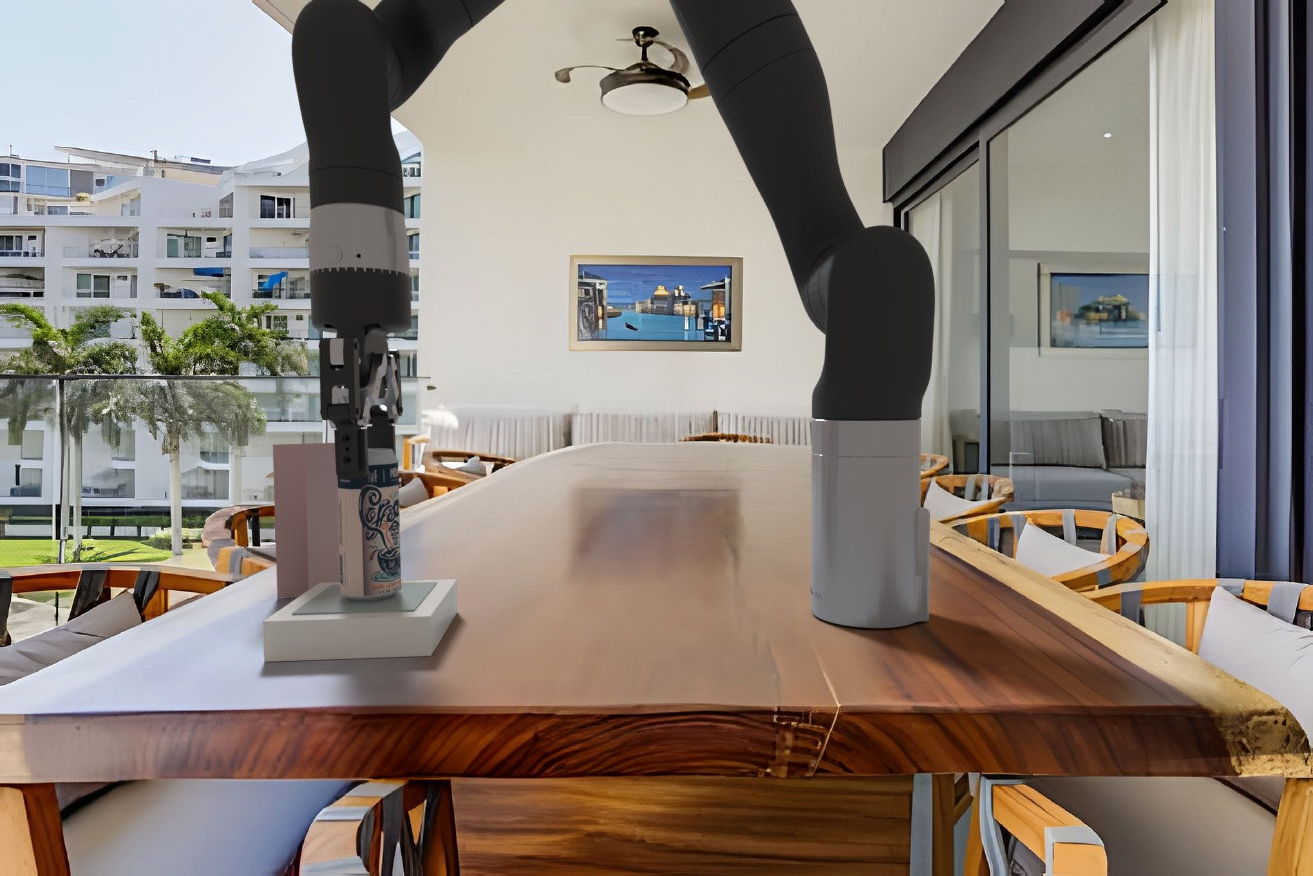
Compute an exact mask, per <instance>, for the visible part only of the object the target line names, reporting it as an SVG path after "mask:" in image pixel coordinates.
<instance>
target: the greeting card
mask: <svg viewBox="0 0 1313 876" xmlns="http://www.w3.org/2000/svg"><path fill="white" fill-rule="evenodd" d="M272 460H273V461H272V464H273V466H272V467H273V494H274V495H273V498H274V500H273V501H274V502H273V503H274V528H275V530H274V531H275V561H276V563H275V565H276V591H277V592H276V594H277V597H276V598H277V599H285V598H292V597H299V596H301V595H302V594H304V593H305V592H307V591H308V590H310V589H311V588H313V587H314V586H316V585H317V584H319V583H333V582H340V554H339V518H338V483H337V475H336V460H335V442H321V443H320V442H317V443H315V442H314V443H281V444H278V443H277V444H272Z"/></svg>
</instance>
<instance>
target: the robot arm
mask: <svg viewBox="0 0 1313 876" xmlns="http://www.w3.org/2000/svg"><path fill="white" fill-rule="evenodd" d="M505 1H506V0H380V1H379V2H378V3H377V4H376V6H375V7H374V8H373V9H372V8H370V7H369V5H367V4H366V3H364V2H363V1H362V0H309V1H308V2H307V3H306V4H305V5H304V7H303V8H301V11H300V12H299V13H298V15H297V18H296V20H295V23H294V26H293V31H292V37H291V61H292V71H293V77H294V78H293V79H294V84H295V90H296V94H297V95H296V96H297V99H298V106H299V109H300V116H301V119H302V124H303V129H304V132H305V137H306V141H307V143H306V144H307V147H308V155H309V156H308V157H309V158H308V184H309V204H310V205H309V208H310V214H309V217H310V219H309V229H308V238H307V239H308V241H307V242H308V243H307V245H308V266H309V267H308V269H309V288H310V289H309V291H310V292H309V293H310V295H309V296H310V313H311V314H310V315H311V317H310V319H311V324H312V327H313V328H314V329H316V330H317V331H320V332H325V333H332V334H336V337H320V338H319V342H318V351H319V352H318V354H319V356H318V358H319V395H320V400H319V401H320V403H319V404H320V405H319V406H320V408H319V409H320V410H319V415H320V417H321V419H322V420H323V421H328V423H329V426H330V428H331V429H333V434H334V443H335V460H336V475H337V476H338V477H339V478H341V479H352V478H363V477H365V476H367V475H368V473H369V464H368V448H389V449H393V452H394V454H395V456H396V457H397V449H396V425H397V424H398V422H399V421H398V420H399V419H400V418H399V417H402V416H403V412H404V407H403V396H402V379H401V376H402V375H401V353H400V351H399V349H393V348H392V349H391V348H389V343H388V342H389V341H388V340H387V339H388V335H389V334H400V333H404V332H407V331H409V330H410V329H411V328H412V324H413V323H412V322H413V321H412V300H411V299H412V297H411V294H412V293H411V292H412V291H411V270H410V267H411V266H410V248H409V247H410V246H409V240H408V239H409V238H408V234H407V227H406V219H405V195H404V175H403V174H404V173H403V166H402V160H401V156H400V155H401V154H400V153H399V150H398V148H397V147H398V146H397V144H396V142H395V139H394V136H393V130H392V116H391V115H392V114H391V113H392V112H394V111H396V110H397V109H399V108H400V107H401V106H403V104H405V103H406V102H407V101H408V100H409V99H410V98H412V96H413V95H414V94H415V93H416V92H417V91H418V90H419V88H420V87H421V86H422V85H423V84H424V82H426V79H428V77H429V76H430V75H431V74H432V72H433V71H434V70H435V68H436V67H437V66H438V65H439V64H440V62H441V61H442V60H443V58H444V57H445V56H446V53H447V52H448V51H449V49H451V47H452V46H453V45H454V43H455V42H456V41H457V40H459V38H461V37H463V36H464V35H465V34H467V33H468V32H469V31H470V30H472V29H473V28H474V27H475V26H476V25H477V24H479V23H480V22H481V21H483V20H484V19H485V18H486V17H488V15H490V14H491V13H492V12H494V11H495V10H496V9H497V8H499V7H500V6H501V5H502V4H503V3H505ZM668 1H669V4H670V6H671V9H672V11H673V13H674V15H675V18H676V20H677V22H678V25H679V27H680V29H681V31H682V34H683V36H684V38H685V40H686V42H687V43H688V47H689V49H690V50H691V53H692V56H693V58H694V60H695V63H696V65H697V67H698V69H699V72H700V75H701V77H702V79H703V82H704V84H705V86H706V87H707V90H708V92H709V94H710V97H711V98H712V101H713V103H714V105H715V107H716V109H717V111H718V113H719V115H720V116H721V117H720V118H721V119H722V121H723V122H724V125H725V126H726V128H727V130H728V132H729V134H730V136H731V138H732V140H733V142H734V144H735V147H736V148H737V151H738V152H739V155H740V157H741V159H742V162H743V163H744V166H745V168H746V169H747V171H748V174H749V176H750V177H751V180H752V181H753V183H754V185H755V187H756V188H757V191H758V193H759V194H760V196H761V198H762V201H763V202H764V205H765V207H766V209H767V210H768V212H769V214H770V217H771V219H772V221H773V224H774V228H776V233H777V234H778V237H779V239H780V242H781V245H782V248H783V251H784V255H785V256H786V259H787V262H788V265H789V269H790V271H791V273H792V277H793V280H794V283H795V287H796V289H797V292H798V294H799V298H800V301H801V304H802V305H803V308H804V311H805V313H806V315H807V317H808V318H809V320H810V321H811V322H812V323H813V325H814V326H815V328H816V329H818V330H819V331H820V332H821V333H822V334H824V335H825V339H824V341H825V343H824V344H825V345H824V360H823V365H822V370H821V373H820V376H819V379H818V380H817V382H816V384H815V387H814V388H813V390H812V395H811V418H812V419H811V491H810V492H811V494H810V495H811V496H810V497H811V504H810V505H811V509H810V511H811V516H810V517H811V522H810V524H811V526H810V527H811V528H810V531H811V532H810V534H811V542H810V550H811V551H810V552H811V553H810V556H811V557H810V567H811V568H810V569H811V571H810V572H811V574H810V577H811V578H810V596H811V597H810V607H811V608H810V612H811V613H812V615H814V616H815V617H817V618H819V619H821V620H823V621H826V622H829V623H832V624H837V625H842V626H848V627H853V628H854V627H856V628H867V629H869V628H870V629H887V628H888V629H889V628H890V629H891V628H899V627H904V626H908V625H911V624H914V623H918V622H928V621H930V559H931V558H930V555H931V553H930V552H931V549H930V548H931V547H930V545H931V513H930V511H929V509H928V508H926V507H924V506H923V507H922V506H921V490H922V489H921V487H922V485H921V482H922V481H921V480H922V479H921V478H922V475H921V467H922V466H921V465H922V457H921V456H922V453H921V452H922V419H921V418H922V415H923V414H922V412H923V411H922V408H923V400H924V397H925V395H926V392H927V389H928V387H929V384H930V382H931V375H932V369H933V368H932V367H933V366H932V365H933V352H934V333H935V318H936V317H935V316H936V315H935V312H936V310H935V309H936V286H935V274H934V270H933V266H932V262H931V260H930V257H929V255H928V253H927V251H926V249H925V247H924V246H923V244H922V243H921V242H920V241H919V240H918V239H917V238H916V237H915V236H914V235H913V234H912V233H910V232H908V231H906V230H904V229H902V228H901V227H896V226H894V225H884V224H881V225H879V224H878V225H872V226H867V227H866V226H865V224H864V223H863V221H862V220H861V217H860V215H859V214H858V213H859V212H857V210H856V207H855V205H854V203H853V201H852V199H851V196H850V195H849V193H848V189H847V187H846V185H845V182H844V179H843V176H842V172H841V168H840V164H839V159H838V152H837V145H836V137H835V130H834V129H835V128H834V122H833V114H832V113H833V112H832V107H831V100H830V95H829V88H828V83H827V80H826V76H825V73H824V70H823V67H822V64H821V61H820V59H819V57H818V53H817V52H816V49H815V48H814V45H813V43H812V41H811V39H810V36H809V34H808V32H807V30H806V27H805V26H804V23H803V21H802V19H801V16H800V14H799V12H798V10H797V7H795V4H794V3H793V1H792V0H668ZM342 387H343V388H342Z"/></svg>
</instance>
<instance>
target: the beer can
mask: <svg viewBox="0 0 1313 876" xmlns="http://www.w3.org/2000/svg"><path fill="white" fill-rule="evenodd" d="M399 463H400V461H399V459H398V458H397V455H396V456H395V454H394V452H393V449H389V448H368V464H369V473H368V475H367V476H365V477H363V478H352V479H341V478H339V477H338V476H337V483H338V518H339V554H340V592H339V593H340V595H342V596H343V597H345V598H347V599H349V600H351V601H357V602H367V601H377V600H383V599H387V598H390V597H392V596H393V595H394V594H395V593H397V592H398V591H400V590H401V588H402V587H401V581H402V568H401V566H402V565H401V531H400V530H401V524H400V523H401V521H400V520H401V519H400V487H399V486H400V483H399V482H400V481H399V478H400V477H399Z"/></svg>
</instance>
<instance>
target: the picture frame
mask: <svg viewBox="0 0 1313 876" xmlns="http://www.w3.org/2000/svg"><path fill="white" fill-rule="evenodd" d="M401 587H402V588H401V590H400V591H398V592H397V593H395V594H394V595H393V596H392V597H390V598H387V599H383V600H377V601H367V602H357V601H351V600H349V599H347V598H345V597H343V596H342V595H340V593H339V592H340V582H333V583H319V584H317V585H316V586H314V587H313V588H311V589H310V590H308V591H307V592H305V593H304V594H302V595H301V596H297V597H296V598H294V600H292V601H290V602H289V603H288V604H287V605H285V606H283V607H282V608H280V609H279V610H278V611H276V612H275V613H273V614H271V615H270V616H269V617H267V618H266V619H264V620H263V621H262V632H263V633H262V635H263V636H262V637H263V638H262V639H263V662H269V663H270V662H291V661H293V662H294V661H295V662H297V661H318V660H319V661H321V660H322V661H323V660H353V659H378V658H379V659H380V658H381V659H382V658H403V657H405V658H407V657H408V658H409V657H410V658H411V657H432V655H433V653H434V652H435V650H436V649H437V647H438V645H439V643H440V642H441V640H442V639H443V637H444V635H445V634H446V632H447V630H448V629H449V627H450V626H451V624H452V622H453V621H454V619H455V617H456V616H457V613H458V612H459V611H458V610H459V609H458V608H459V607H458V603H459V602H458V600H459V599H458V579H457V578H456V579H455V578H451V579H448V578H447V579H418V580H417V579H415V580H401ZM452 620H453V621H452ZM449 625H450V626H449Z"/></svg>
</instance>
